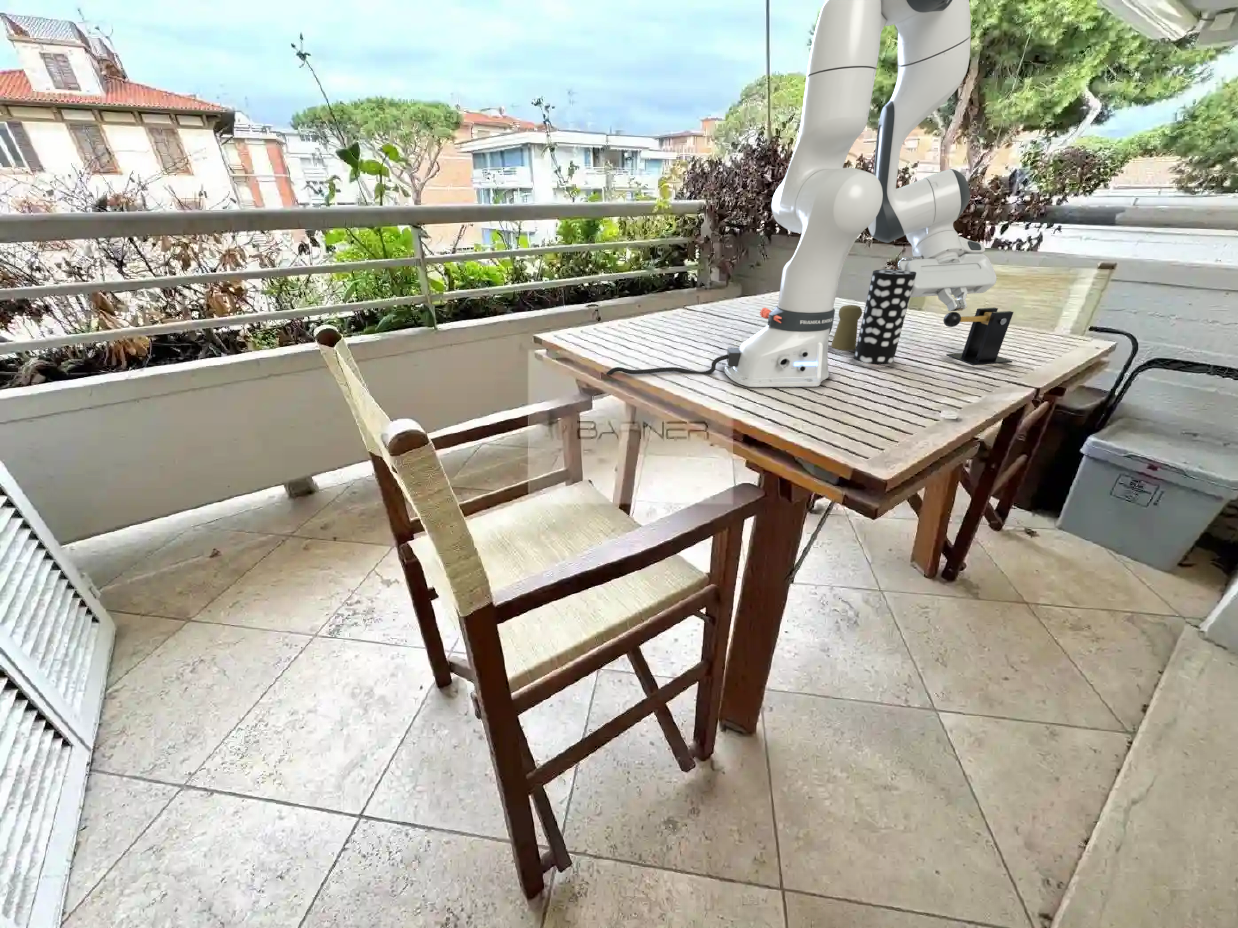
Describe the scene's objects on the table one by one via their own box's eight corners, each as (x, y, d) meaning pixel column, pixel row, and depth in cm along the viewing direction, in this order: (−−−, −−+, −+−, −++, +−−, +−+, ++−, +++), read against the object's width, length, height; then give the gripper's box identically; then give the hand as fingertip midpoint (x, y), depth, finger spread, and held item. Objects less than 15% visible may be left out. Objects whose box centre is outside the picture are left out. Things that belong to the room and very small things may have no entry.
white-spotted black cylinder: (884, 357, 116) (906, 269, 107) (898, 368, 109) (923, 274, 99) (848, 357, 117) (867, 269, 108) (860, 368, 110) (881, 275, 100)
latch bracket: (971, 369, 108) (989, 315, 102) (944, 359, 115) (960, 307, 109) (1010, 366, 109) (1031, 312, 103) (982, 356, 116) (1000, 305, 110)
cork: (860, 352, 120) (870, 307, 115) (838, 354, 120) (847, 308, 114) (846, 346, 126) (855, 302, 120) (825, 348, 125) (833, 304, 119)
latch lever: (948, 328, 105) (953, 313, 103) (937, 325, 107) (942, 310, 106) (1000, 327, 107) (1006, 312, 105) (989, 324, 109) (994, 309, 108)
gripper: (905, 247, 103) (924, 303, 100) (990, 243, 106) (1012, 298, 102) (887, 267, 109) (904, 320, 106) (968, 263, 112) (987, 315, 108)
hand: (958, 309), depth 104 cm, fingers closed
